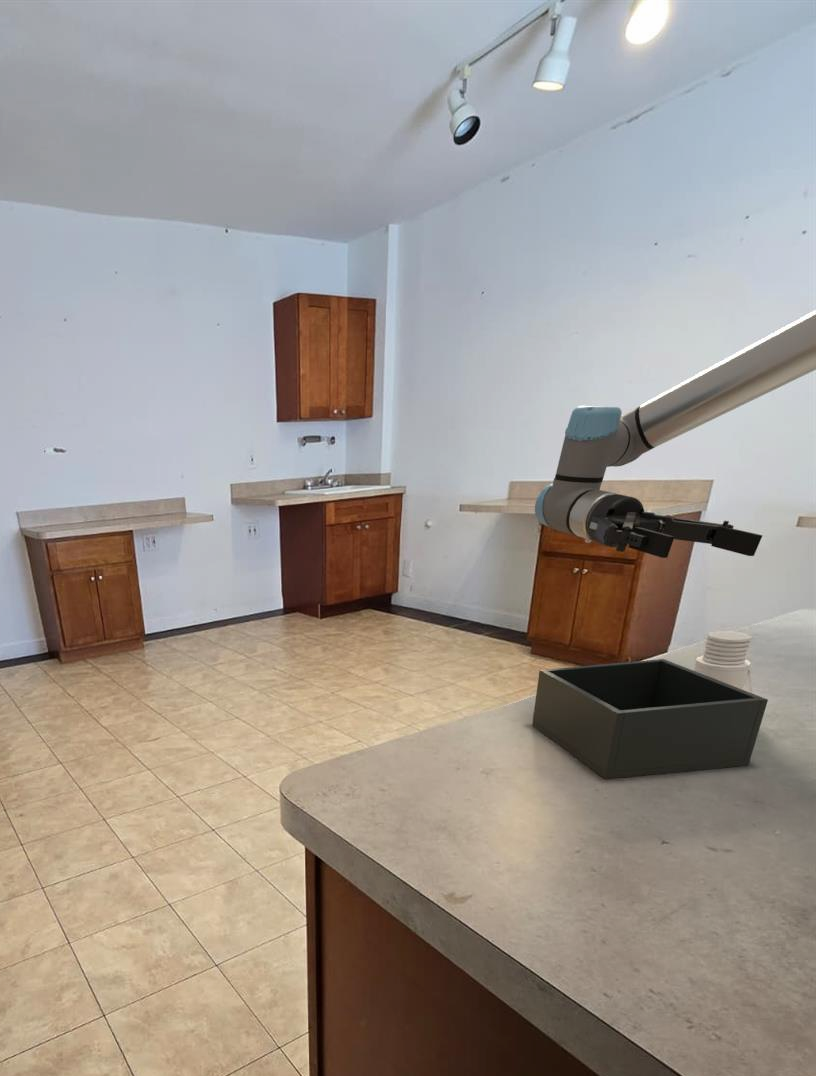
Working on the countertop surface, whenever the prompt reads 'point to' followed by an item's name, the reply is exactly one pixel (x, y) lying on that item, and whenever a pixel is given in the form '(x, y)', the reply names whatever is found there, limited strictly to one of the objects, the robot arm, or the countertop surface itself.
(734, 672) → the downlight
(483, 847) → the countertop surface
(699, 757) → the dark grey open box
